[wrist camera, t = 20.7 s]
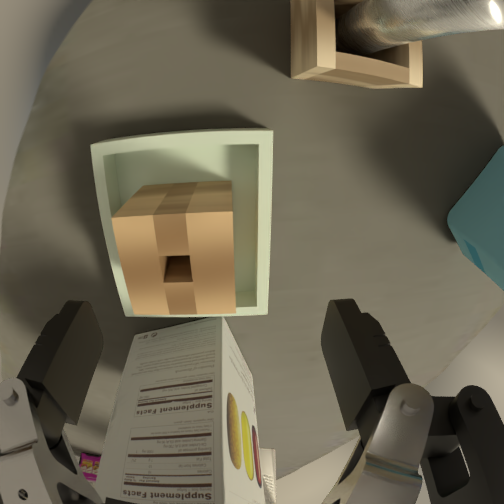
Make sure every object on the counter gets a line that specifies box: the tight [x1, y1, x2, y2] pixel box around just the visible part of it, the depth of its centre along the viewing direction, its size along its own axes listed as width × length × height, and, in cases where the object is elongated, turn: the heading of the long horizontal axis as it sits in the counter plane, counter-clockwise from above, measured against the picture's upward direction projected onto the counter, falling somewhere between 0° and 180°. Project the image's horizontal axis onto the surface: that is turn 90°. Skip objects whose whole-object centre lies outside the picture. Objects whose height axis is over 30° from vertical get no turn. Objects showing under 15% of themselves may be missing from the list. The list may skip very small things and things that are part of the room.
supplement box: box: [95, 316, 265, 504], centre depth 20 cm, size 10×9×17 cm
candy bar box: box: [79, 453, 101, 489], centre depth 35 cm, size 11×5×16 cm, turn 93°
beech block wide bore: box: [290, 0, 423, 89], centre depth 12 cm, size 6×6×6 cm
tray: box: [90, 128, 273, 317], centre depth 19 cm, size 13×11×3 cm
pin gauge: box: [335, 0, 504, 56], centre depth 9 cm, size 3×3×14 cm
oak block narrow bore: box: [111, 181, 236, 315], centre depth 17 cm, size 6×6×6 cm
